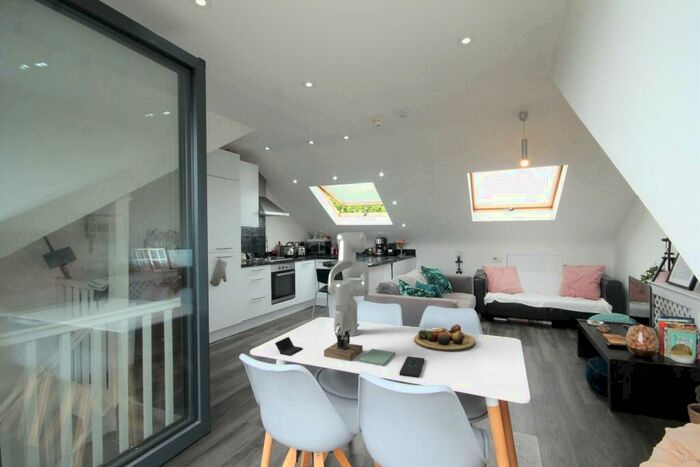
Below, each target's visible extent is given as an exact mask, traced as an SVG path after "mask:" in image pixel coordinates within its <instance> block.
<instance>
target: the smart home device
mask: <svg viewBox="0 0 700 467" xmlns="http://www.w3.org/2000/svg"><path fill="white" fill-rule="evenodd" d="M424 364H425V358H424V357H420V356H419V357H418V356H408V355H407V356H406V358H405V360H404V362H403V364H402V366H401V368H400V370H399V372H398V373H399V376H401V377H402V376H403V377H407V378H408V377H409V378H417V379H418V378H420V375H421V373H422V371H423V370H422V369H423V367H424Z"/></svg>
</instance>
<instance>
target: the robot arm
mask: <svg viewBox="0 0 700 467" xmlns="http://www.w3.org/2000/svg"><path fill="white" fill-rule="evenodd" d="M336 242H337V246H338V258H337V263H336V264H335V265H334V266H332V268H331V270H330V271H329V274H328V280H327V291H328V293H329V294H330V295H332V296H335V314H334V322H333V328H334V330H333V331H334V335H335V337H336V343H337V346H338V347H342V348H343V347H344V339H343V334H346V335H348V344H351V338H350V337H355V336H358V335H360V334H361V330H359V329H358V328H359V326H360V324H359V323H358V303H357V300H356V299H355V298H354V297H367V296H369V293H370V274H369V272H370V271H369V265H368V263H367V262H365V261H357V253H363V252H365V250H366V246H367V235H366V234H365V232H361V231H360V232H359V231H358V232H350V231H348V232H346V231H345V232H340V233H338V234H337V235H336ZM340 272H341V274H342V277H345V278H348V279H345V280H343V279H342V280H341V279H339V280H336V279H335V277H336V275H338V274H339V273H340ZM349 278H352V279H349ZM355 278H356V279H355ZM358 278H359V279H358Z"/></svg>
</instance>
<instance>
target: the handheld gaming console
mask: <svg viewBox="0 0 700 467" xmlns="http://www.w3.org/2000/svg"><path fill="white" fill-rule="evenodd" d="M274 345H275V346H276V348H277V350H278V351H279V354H280V355H283V356H289V357H290V356H292V355H294V354H297V353H298V352H300V351H302V350H303V347H300V346H296V345H294V343H293V341H292V340H291V338H290V336H287V337H284V338H282V339H280V340H278V341H276V342H275V343H274Z"/></svg>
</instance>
